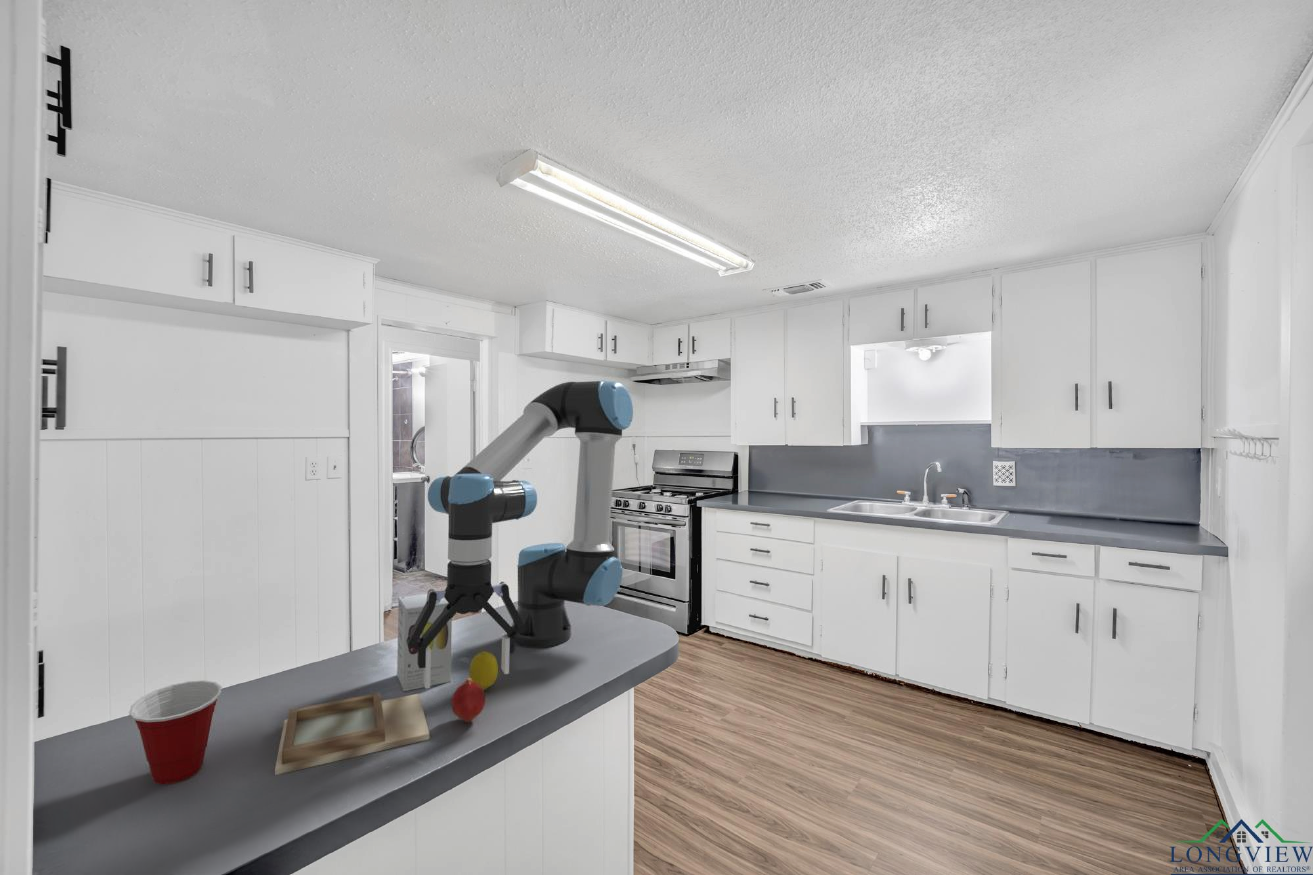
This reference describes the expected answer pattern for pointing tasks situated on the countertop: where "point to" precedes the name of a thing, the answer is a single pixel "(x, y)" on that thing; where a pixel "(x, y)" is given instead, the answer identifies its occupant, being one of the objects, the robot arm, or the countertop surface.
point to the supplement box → (439, 646)
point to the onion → (468, 700)
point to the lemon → (484, 669)
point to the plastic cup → (176, 728)
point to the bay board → (349, 730)
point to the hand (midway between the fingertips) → (467, 678)
